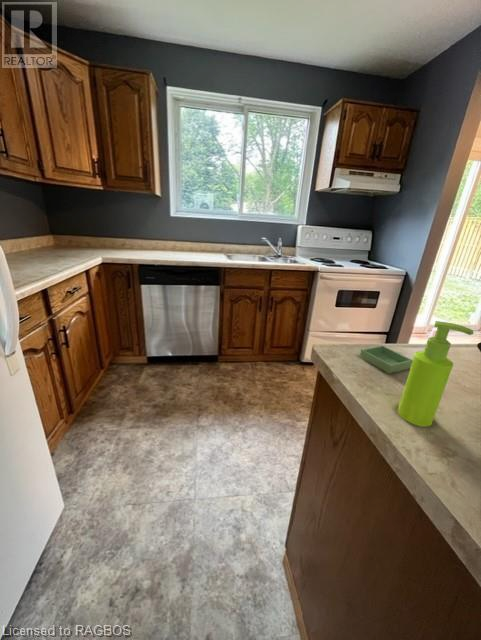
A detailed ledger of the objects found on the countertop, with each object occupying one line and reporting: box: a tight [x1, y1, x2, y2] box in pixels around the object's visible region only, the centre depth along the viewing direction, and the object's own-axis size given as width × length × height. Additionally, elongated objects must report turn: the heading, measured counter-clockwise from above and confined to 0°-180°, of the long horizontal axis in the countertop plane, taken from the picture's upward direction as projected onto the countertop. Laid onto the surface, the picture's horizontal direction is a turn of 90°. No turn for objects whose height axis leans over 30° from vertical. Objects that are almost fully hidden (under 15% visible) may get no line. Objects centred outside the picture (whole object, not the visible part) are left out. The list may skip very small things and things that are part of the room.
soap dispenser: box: [397, 320, 474, 427], centre depth 50 cm, size 6×7×20 cm
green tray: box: [359, 345, 413, 374], centre depth 74 cm, size 10×8×2 cm
